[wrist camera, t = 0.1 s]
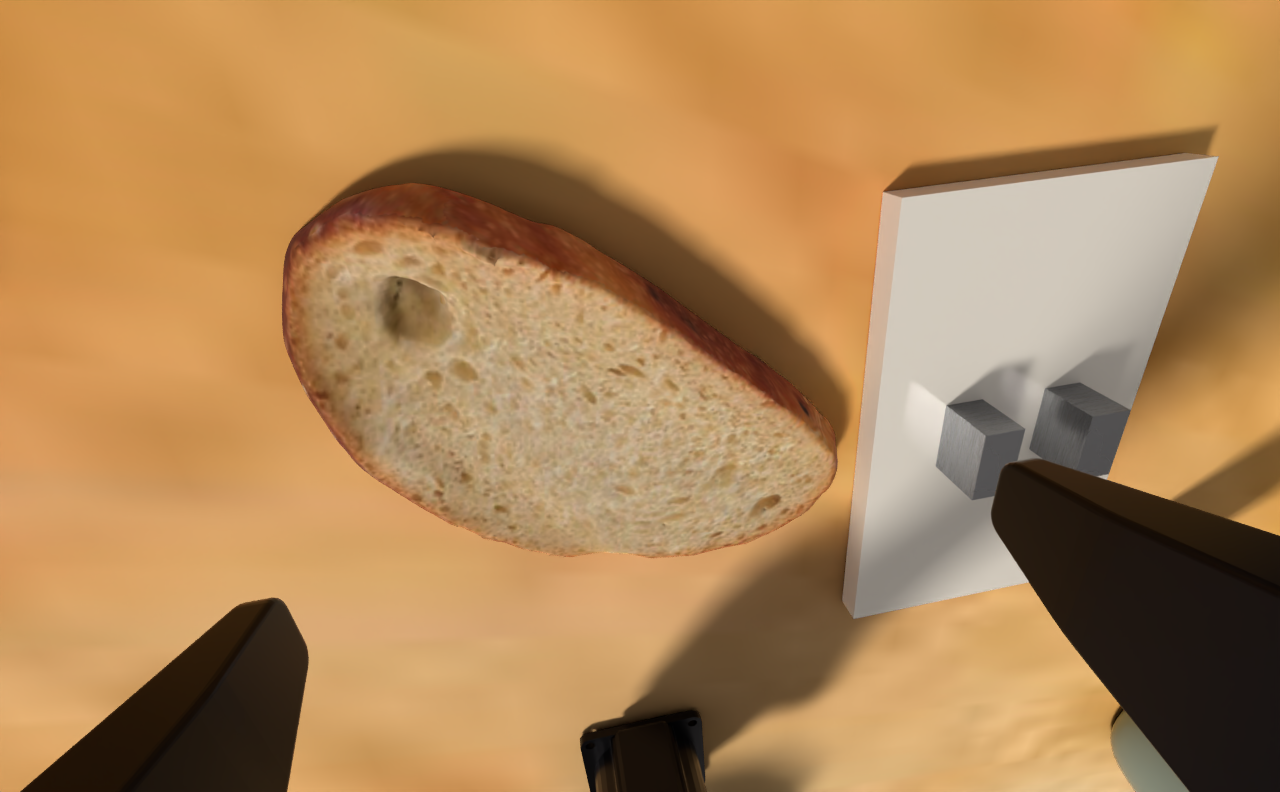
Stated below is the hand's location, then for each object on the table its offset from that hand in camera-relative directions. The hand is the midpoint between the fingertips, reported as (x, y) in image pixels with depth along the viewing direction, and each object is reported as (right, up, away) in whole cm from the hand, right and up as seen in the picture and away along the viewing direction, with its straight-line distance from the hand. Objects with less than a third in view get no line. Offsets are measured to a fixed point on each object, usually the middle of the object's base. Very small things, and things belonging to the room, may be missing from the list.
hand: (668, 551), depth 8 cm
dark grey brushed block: (+15, +1, +18) cm, 23 cm away
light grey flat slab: (+15, +1, +19) cm, 24 cm away
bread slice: (-2, +2, +16) cm, 16 cm away
